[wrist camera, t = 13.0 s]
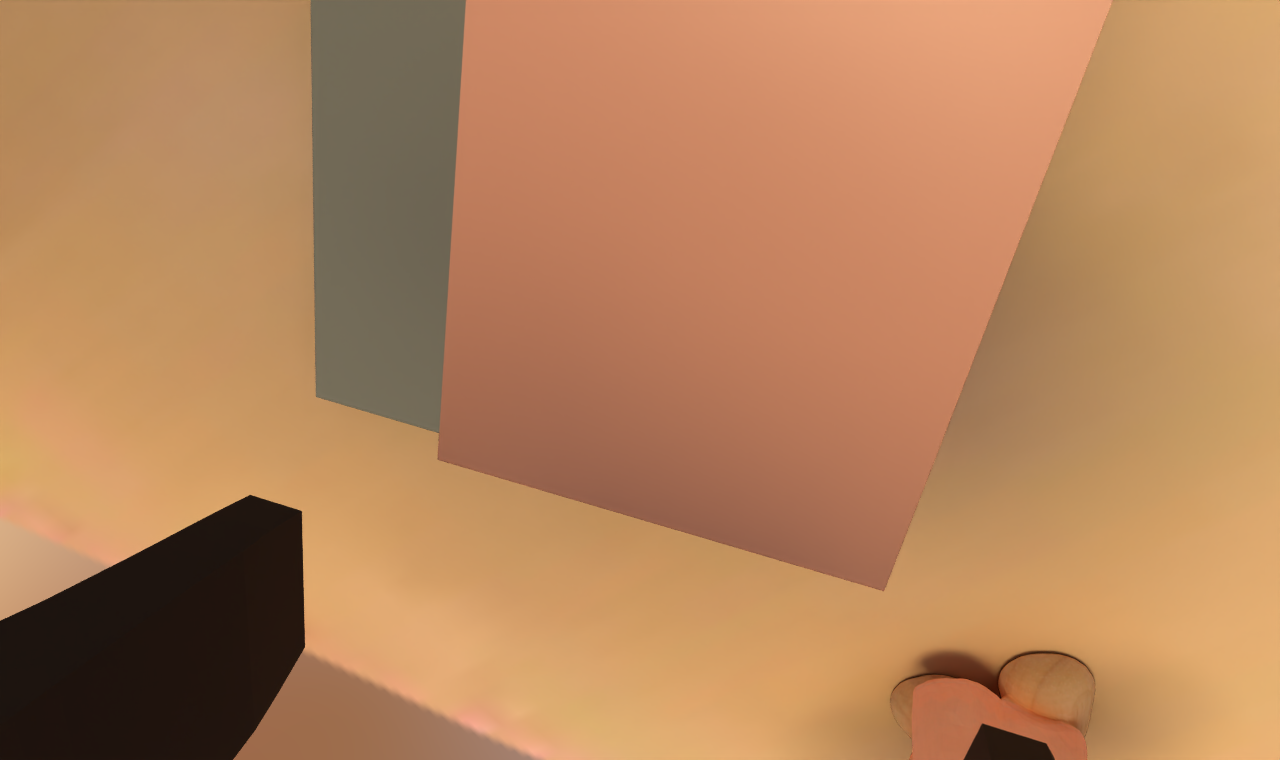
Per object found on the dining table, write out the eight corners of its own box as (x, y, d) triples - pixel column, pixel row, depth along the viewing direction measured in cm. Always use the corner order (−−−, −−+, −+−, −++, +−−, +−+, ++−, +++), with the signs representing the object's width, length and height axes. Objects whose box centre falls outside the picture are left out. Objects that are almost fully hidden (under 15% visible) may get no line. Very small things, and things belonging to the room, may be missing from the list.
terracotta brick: (574, 285, 14) (437, 460, 10) (646, -248, 11) (483, -288, 7) (899, 371, 13) (883, 590, 9) (1084, -168, 10) (1175, -162, 6)
